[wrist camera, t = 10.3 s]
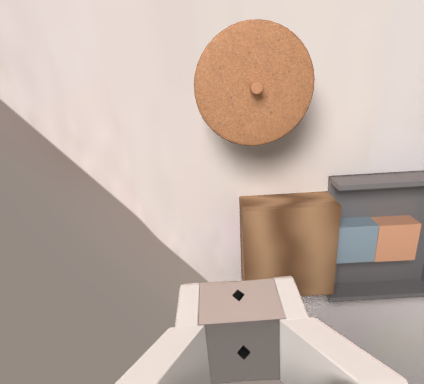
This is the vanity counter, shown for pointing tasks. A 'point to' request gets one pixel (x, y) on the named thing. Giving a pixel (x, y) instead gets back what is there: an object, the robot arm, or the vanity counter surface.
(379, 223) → the tile
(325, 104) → the vanity counter surface
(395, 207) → the tray
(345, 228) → the tile
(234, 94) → the lidded jar
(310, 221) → the cardboard box
